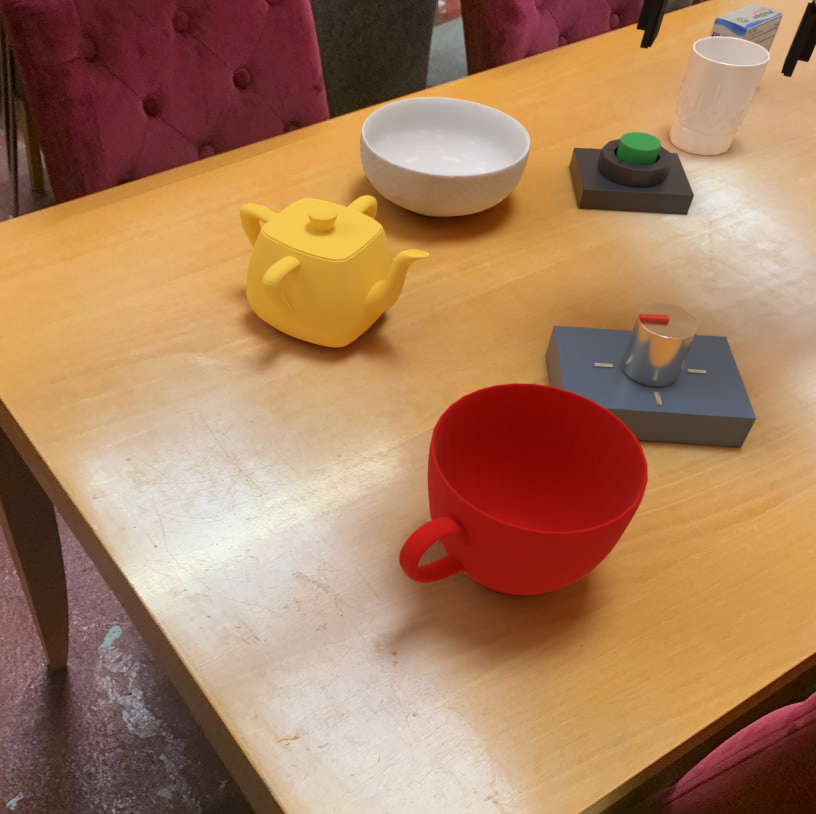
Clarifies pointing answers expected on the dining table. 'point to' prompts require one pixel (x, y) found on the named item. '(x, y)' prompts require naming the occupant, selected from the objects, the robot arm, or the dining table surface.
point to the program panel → (656, 406)
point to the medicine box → (749, 24)
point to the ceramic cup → (526, 489)
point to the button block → (629, 182)
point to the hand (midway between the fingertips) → (716, 55)
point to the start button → (638, 148)
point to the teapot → (322, 268)
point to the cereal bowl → (443, 155)
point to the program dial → (659, 344)
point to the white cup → (716, 93)
